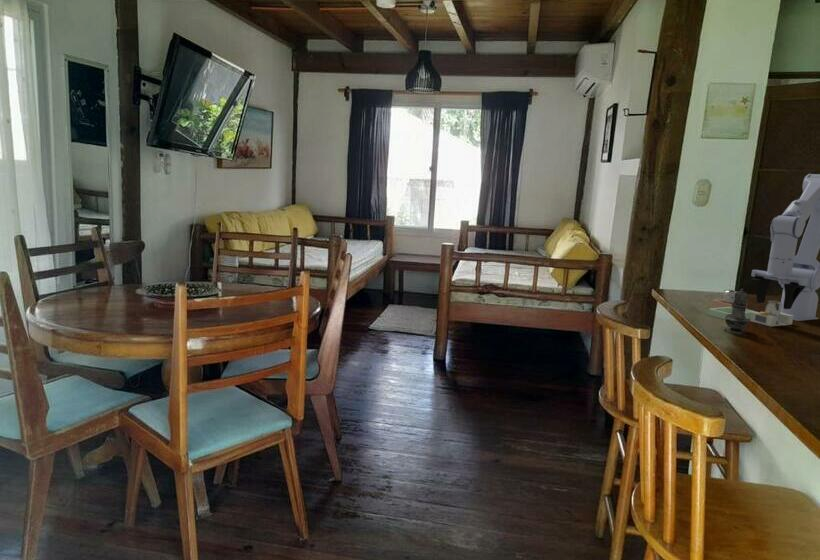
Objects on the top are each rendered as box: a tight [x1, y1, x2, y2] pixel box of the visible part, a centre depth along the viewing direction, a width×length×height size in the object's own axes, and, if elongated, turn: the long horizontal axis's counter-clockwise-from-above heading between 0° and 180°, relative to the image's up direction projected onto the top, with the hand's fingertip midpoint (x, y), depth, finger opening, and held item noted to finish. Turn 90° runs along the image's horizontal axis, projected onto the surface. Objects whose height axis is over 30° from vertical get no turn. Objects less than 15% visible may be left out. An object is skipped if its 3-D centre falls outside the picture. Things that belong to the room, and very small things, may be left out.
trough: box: [706, 307, 757, 321], centre depth 157 cm, size 12×7×2 cm, turn 111°
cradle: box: [749, 311, 794, 327], centre depth 151 cm, size 9×6×4 cm, turn 111°
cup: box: [710, 299, 748, 309], centre depth 165 cm, size 7×7×3 cm
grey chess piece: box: [723, 287, 751, 336], centre depth 140 cm, size 6×6×12 cm
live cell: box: [764, 300, 782, 324], centre depth 151 cm, size 4×4×6 cm
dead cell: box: [723, 289, 737, 304], centre depth 165 cm, size 4×4×6 cm
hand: (773, 305), depth 150 cm, fingers open, 7 cm apart
